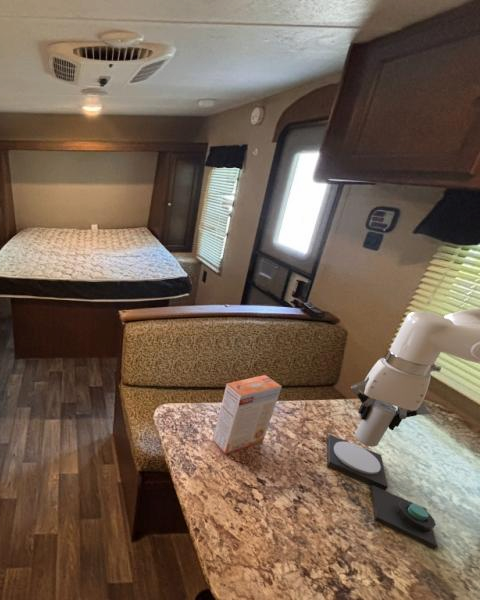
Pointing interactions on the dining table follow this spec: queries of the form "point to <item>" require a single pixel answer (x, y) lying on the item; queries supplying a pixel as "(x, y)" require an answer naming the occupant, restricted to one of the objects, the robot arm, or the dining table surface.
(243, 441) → the cracker box
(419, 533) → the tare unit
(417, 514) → the button
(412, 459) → the dining table surface
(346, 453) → the scale
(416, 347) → the robot arm
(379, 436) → the beverage can
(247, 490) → the dining table surface
